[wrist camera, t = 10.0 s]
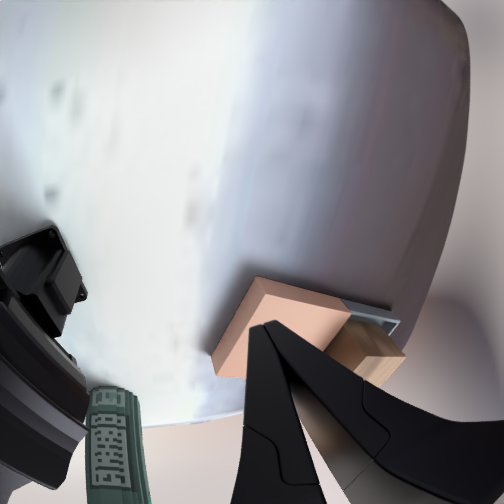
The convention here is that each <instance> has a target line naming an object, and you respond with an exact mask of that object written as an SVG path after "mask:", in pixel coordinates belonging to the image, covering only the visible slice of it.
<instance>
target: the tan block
mask: <svg viewBox="0 0 504 504" xmlns="http://www.w3.org/2000/svg"><path fill="white" fill-rule="evenodd" d="M323 352H324V353H326V354H327V355H329V356H330V357H332V358H333V359H335V360H336V361H338V362H339V363H341V364H342V365H344V366H345V367H347V368H348V369H350V370H351V371H353V372H354V373H356V374H358V375H359V376H361V377H362V378H363V379H364V380H367V381H369V382H370V383H372V384H373V385H375V386H376V387H378V388H379V387H380V385H381V384H382V383H383V382H384V381H385V380H386V379H387V378H388V377H389V376H390V375H391V374H392V373H393V371H394V370H395V369H396V368H397V367H398V366H399V365H400V364H401V363H402V361H403V360H404V359H405V358H406V356H405V354H404V353H403V352H402V351H401V350H400V348H399V347H398V346H397V345H396V344H395V342H394V341H393V340H392V339H391V338H390V337H389V335H388V334H387V333H386V332H385V331H384V330H383V328H382V327H381V326H380V325H379V324H373V323H368V322H362V321H357V320H351V319H347V321H346V322H345V323H344V325H343V326H342V328H341V329H340V330H339V332H338V333H337V334H336V335H335V337H334V338H333V339H332V341H331V342H330V343H329V345H328V346H327V347H326V348H325V350H324V351H323Z"/></svg>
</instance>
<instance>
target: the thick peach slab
mask: <svg viewBox="0 0 504 504" xmlns="http://www.w3.org/2000/svg"><path fill="white" fill-rule="evenodd" d="M351 314H352V313H351V312H350V310H349V309H348V308H347V307H346V306H345V304H344V303H343V302H342V301H341V300H340V298H337V297H333V296H329V295H325V294H321V293H317V292H314V291H310V290H306V289H302V288H299V287H295V286H291V285H287V284H284V283H280V282H276V281H273V280H269V279H265V278H262V277H258V276H256V277H255V278H254V280H253V282H252V284H251V286H250V288H249V289H248V291H247V293H246V295H245V297H244V298H243V300H242V302H241V304H240V306H239V307H238V309H237V311H236V313H235V315H234V316H233V318H232V320H231V322H230V324H229V325H228V327H227V329H226V331H225V333H224V334H223V336H222V338H221V340H220V341H219V343H218V345H217V347H216V348H215V350H214V352H213V354H212V356H211V359H212V363H213V367H214V371H215V374H216V376H222V377H233V378H245V379H246V369H247V351H248V334H249V328H250V327H252V326H255V325H258V324H262V325H263V324H264V323H265V322H268V321H271V320H278V321H279V322H281V323H282V324H283V325H285V326H286V327H288V328H289V329H291V330H292V331H293V332H295V333H296V334H298V335H299V336H301V337H302V338H304V339H305V340H306V341H308V342H309V343H311V344H312V345H314V346H315V347H317V348H318V349H320V350H321V351H324V350H325V348H326V347H327V346H328V345H329V343H330V342H331V341H332V339H333V338H334V337H335V335H336V334H337V333H338V332H339V330H340V329H341V328H342V326H343V325H344V323H345V322H346V321H347V319H348V318H349V317H350V315H351Z"/></svg>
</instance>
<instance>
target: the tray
mask: <svg viewBox="0 0 504 504" xmlns="http://www.w3.org/2000/svg"><path fill="white" fill-rule="evenodd" d="M340 300H341V301H342V302H343V303H344V304H345V306H346V307H347V308H348V309H349V310H350V312H351V313H352V314H351V315H350V317H349V318H348V319H351V320H357V321H362V322H368V323H373V324H379V325H380V326H381V327H382V328H383V330H384V331H385V332H386V333H387V334H388V335H389V336H390V334H391V333H392V332H393V331H394V329H395V328H396V327H397V325H398V324H399V323H400V320H399V319H398V318H397V316H396V315H395V314H394V313H393V312H392V311H388V310H384V309H380V308H376V307H372V306H368V305H364V304H360V303H356V302H352V301H348V300H345V299H340Z"/></svg>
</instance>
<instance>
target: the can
mask: <svg viewBox="0 0 504 504" xmlns="http://www.w3.org/2000/svg"><path fill="white" fill-rule="evenodd" d="M89 394H90V402H89V408H88V411H87V414H86V426H87V427H88V428H89V432H88V433H87V434H86V435H85V471H86V491H87V504H152V503H151V497H150V492H149V486H148V480H147V473H146V465H145V458H144V449H143V439H142V428H141V416H140V404H139V401H138V398H137V396H133V393H129V391H125V390H124V389H117V387H104V386H99V388H93V390H91V392H89Z"/></svg>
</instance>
